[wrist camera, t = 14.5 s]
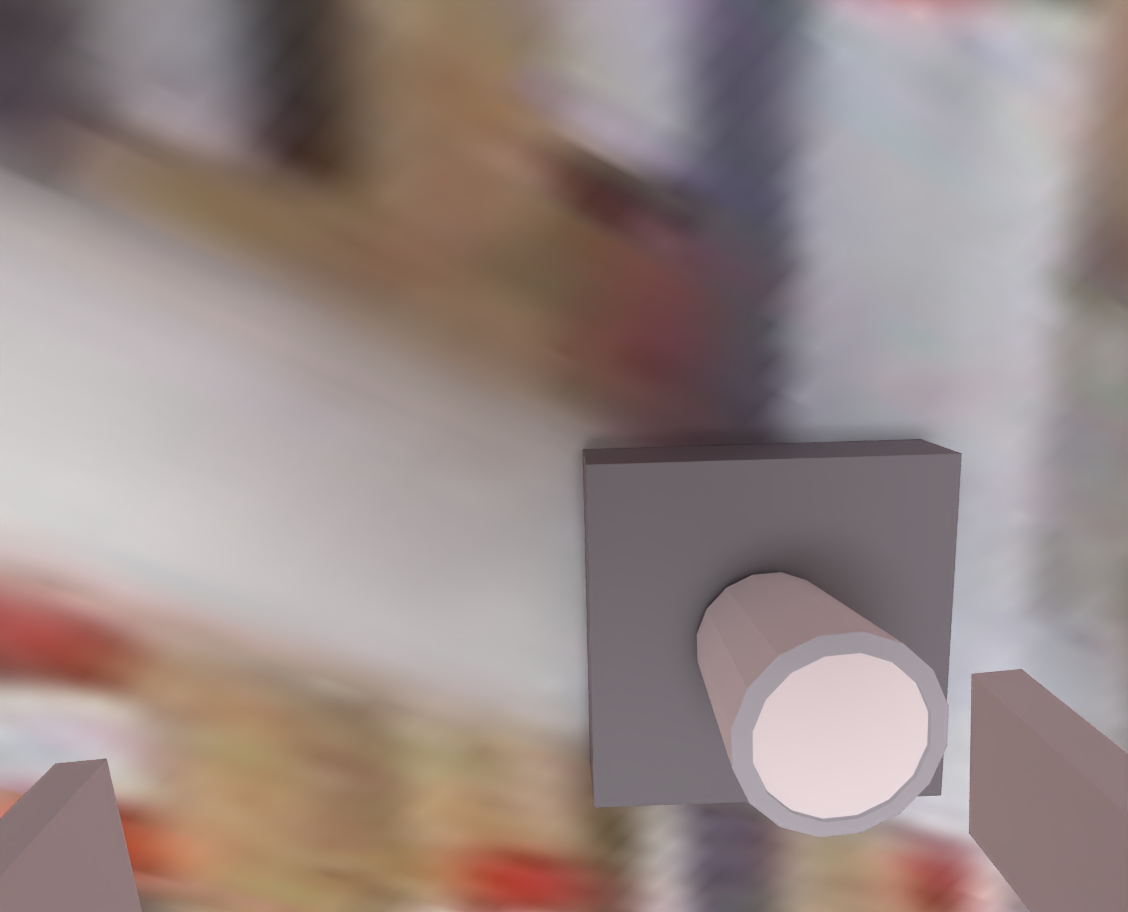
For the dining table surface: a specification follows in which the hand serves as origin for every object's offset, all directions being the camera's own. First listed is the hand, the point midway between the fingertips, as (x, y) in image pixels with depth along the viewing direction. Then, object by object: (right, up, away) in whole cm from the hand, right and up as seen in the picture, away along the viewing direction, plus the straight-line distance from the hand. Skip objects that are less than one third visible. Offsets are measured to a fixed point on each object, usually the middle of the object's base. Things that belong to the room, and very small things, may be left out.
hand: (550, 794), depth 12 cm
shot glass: (+8, -2, +19) cm, 21 cm away
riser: (+8, -1, +23) cm, 25 cm away
